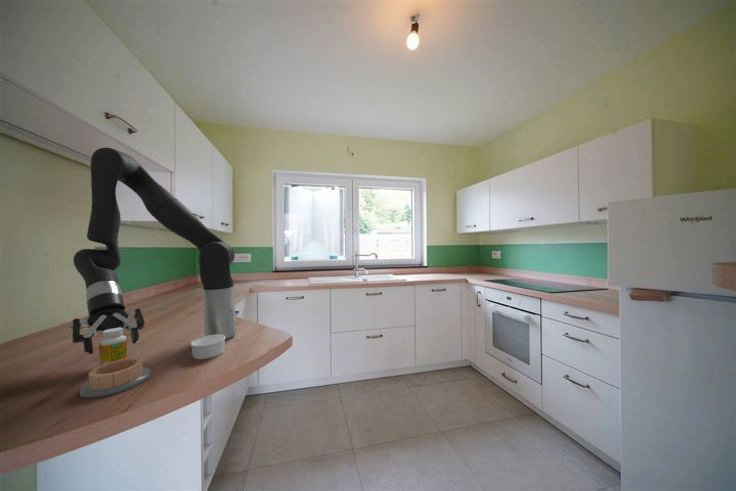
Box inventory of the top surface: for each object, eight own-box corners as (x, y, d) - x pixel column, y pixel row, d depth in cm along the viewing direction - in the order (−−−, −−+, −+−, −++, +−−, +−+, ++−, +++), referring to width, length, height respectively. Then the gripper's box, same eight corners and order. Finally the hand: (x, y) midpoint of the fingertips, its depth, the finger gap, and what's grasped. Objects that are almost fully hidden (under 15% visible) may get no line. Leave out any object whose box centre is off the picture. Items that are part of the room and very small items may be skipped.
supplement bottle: (111, 370, 68) (109, 333, 68) (94, 369, 69) (92, 333, 69) (132, 361, 74) (131, 326, 73) (116, 360, 74) (115, 326, 74)
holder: (158, 367, 69) (157, 352, 69) (138, 390, 58) (137, 372, 58) (99, 377, 65) (98, 361, 65) (65, 404, 54) (64, 384, 54)
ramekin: (198, 363, 71) (197, 347, 71) (186, 356, 76) (185, 341, 76) (231, 352, 78) (230, 337, 78) (218, 345, 83) (217, 332, 83)
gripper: (69, 296, 70) (74, 348, 63) (138, 288, 81) (149, 331, 74) (68, 313, 74) (73, 364, 67) (135, 303, 85) (145, 345, 78)
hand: (113, 346), depth 70 cm, fingers open, 8 cm apart
